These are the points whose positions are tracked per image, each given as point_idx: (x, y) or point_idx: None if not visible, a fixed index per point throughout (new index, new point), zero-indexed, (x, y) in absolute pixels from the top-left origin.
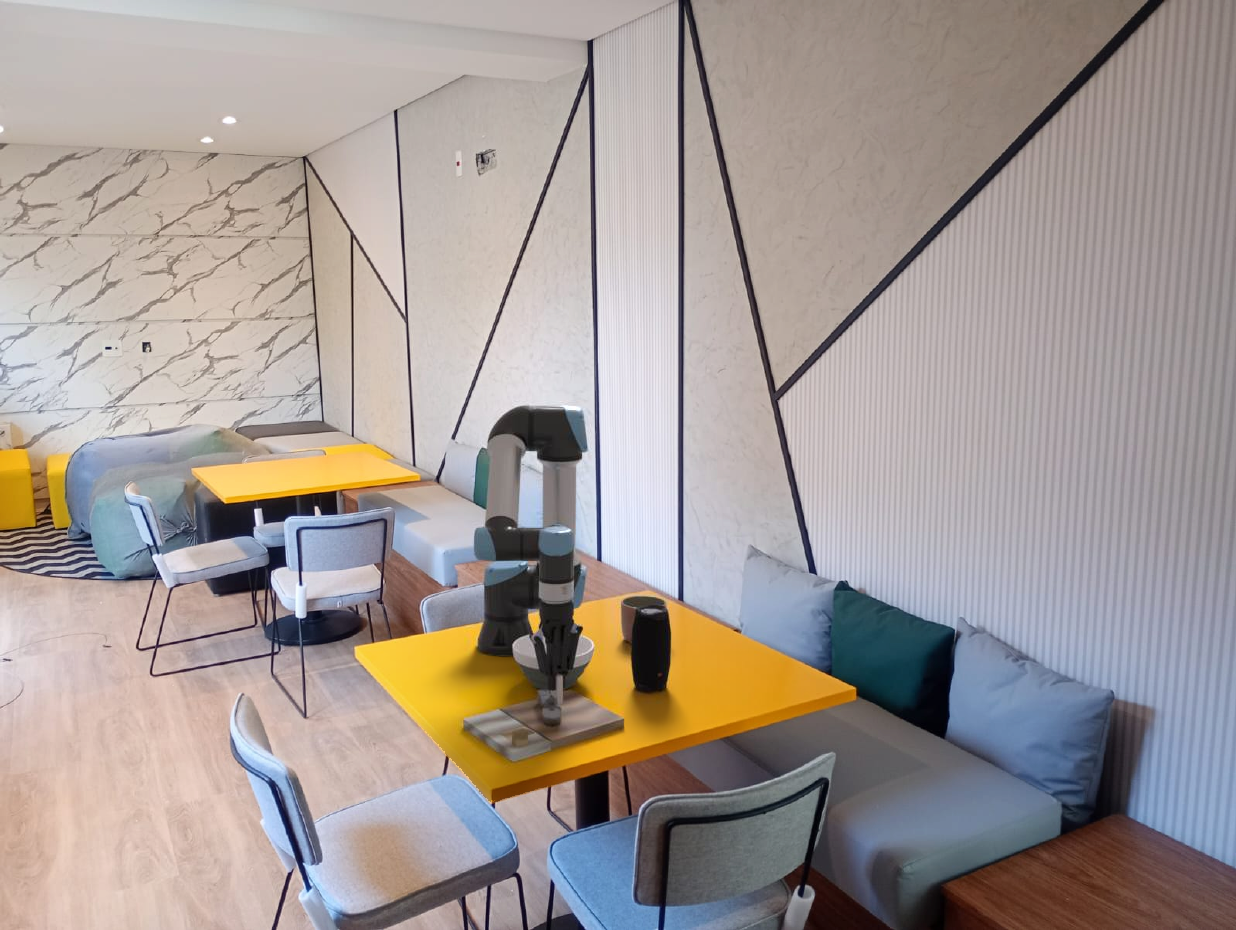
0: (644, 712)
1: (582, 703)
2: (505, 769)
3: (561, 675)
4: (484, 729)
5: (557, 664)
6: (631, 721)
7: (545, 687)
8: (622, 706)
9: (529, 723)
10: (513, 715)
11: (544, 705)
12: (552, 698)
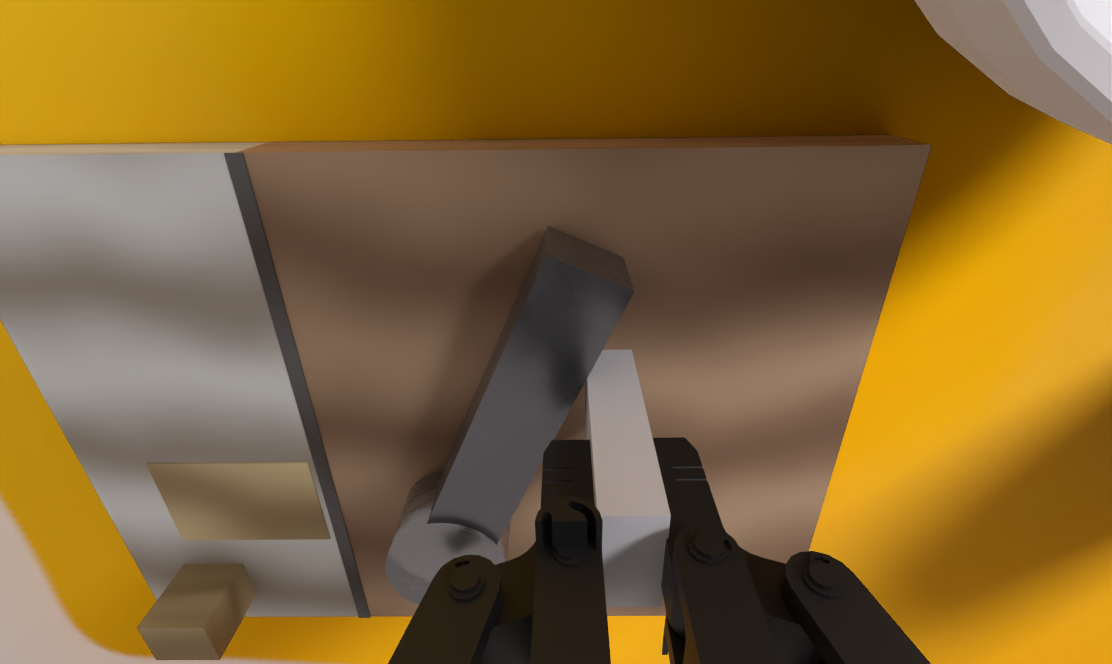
0: (979, 521)
1: (781, 396)
2: (150, 599)
3: (653, 599)
4: (62, 380)
5: (686, 640)
6: (847, 553)
7: None
8: (980, 422)
9: (348, 447)
10: (298, 309)
11: (441, 498)
12: (586, 389)
